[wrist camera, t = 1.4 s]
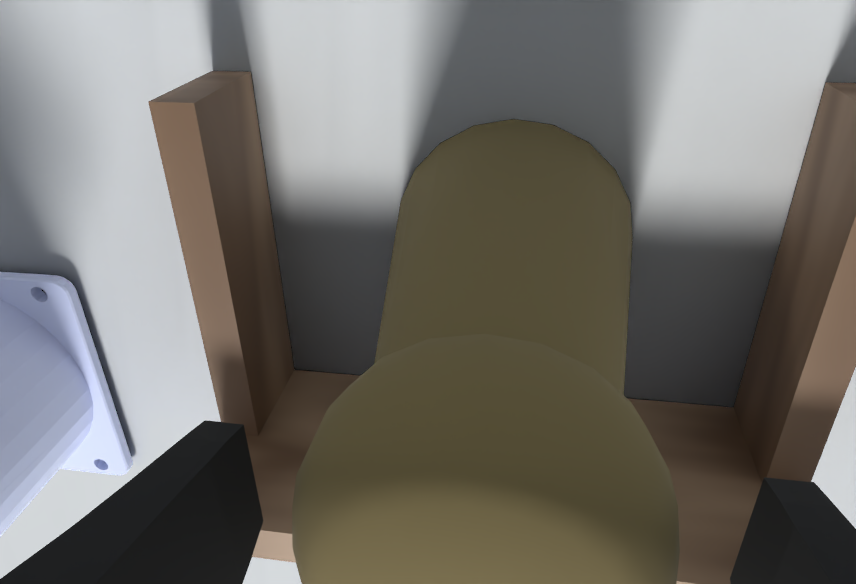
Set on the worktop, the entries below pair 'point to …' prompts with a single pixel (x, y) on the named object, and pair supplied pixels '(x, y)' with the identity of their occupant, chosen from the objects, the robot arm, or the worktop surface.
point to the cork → (495, 388)
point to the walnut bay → (666, 421)
